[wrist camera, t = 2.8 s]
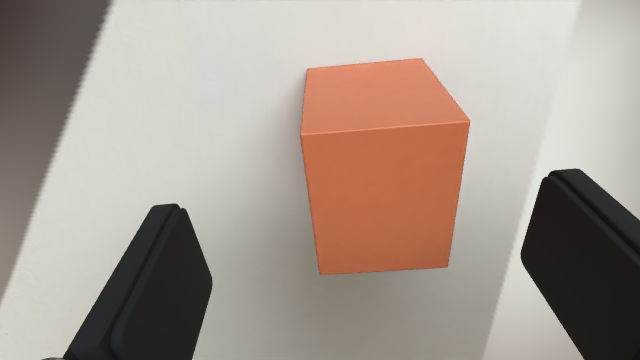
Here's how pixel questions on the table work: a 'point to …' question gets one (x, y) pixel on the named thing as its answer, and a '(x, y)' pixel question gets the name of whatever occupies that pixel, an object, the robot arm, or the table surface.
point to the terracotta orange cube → (381, 166)
